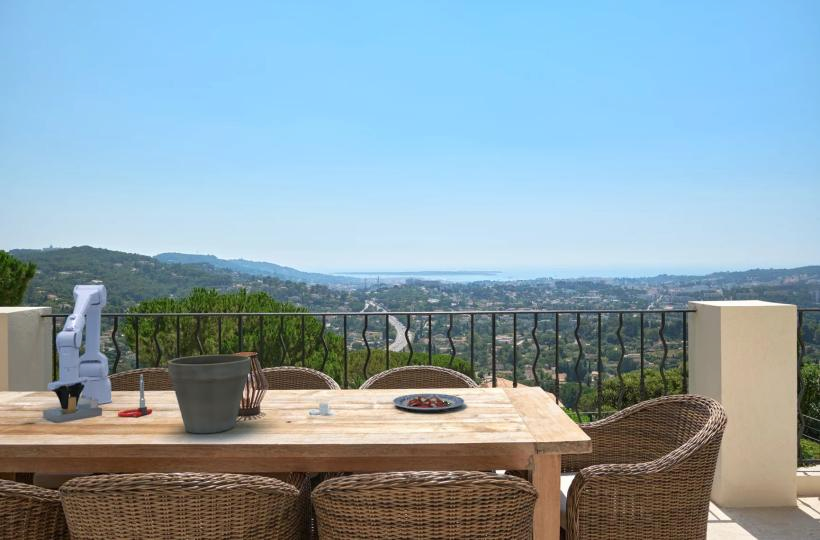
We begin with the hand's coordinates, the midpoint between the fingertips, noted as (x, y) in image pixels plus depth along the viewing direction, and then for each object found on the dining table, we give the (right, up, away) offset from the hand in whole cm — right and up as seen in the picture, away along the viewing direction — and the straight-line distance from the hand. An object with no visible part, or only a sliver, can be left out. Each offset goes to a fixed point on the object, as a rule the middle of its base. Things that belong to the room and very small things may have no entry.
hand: (69, 407), depth 210 cm
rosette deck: (0, -3, +2) cm, 4 cm away
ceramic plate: (+121, -3, +16) cm, 122 cm away
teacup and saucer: (+84, -4, +6) cm, 84 cm away
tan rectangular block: (0, -3, 0) cm, 3 cm away
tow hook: (+19, -4, +5) cm, 20 cm away
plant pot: (+52, -3, -14) cm, 54 cm away
